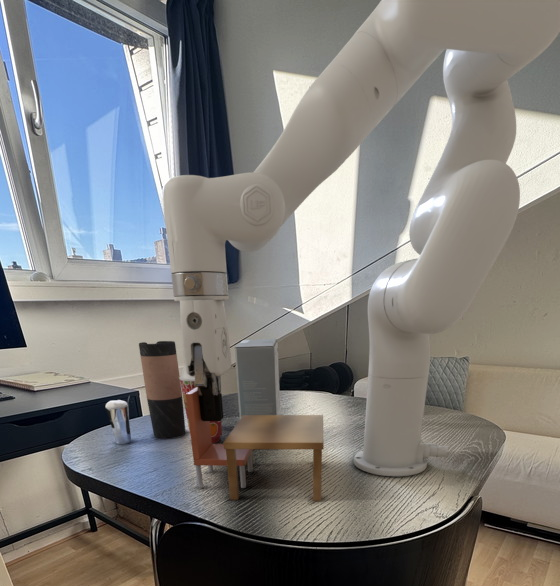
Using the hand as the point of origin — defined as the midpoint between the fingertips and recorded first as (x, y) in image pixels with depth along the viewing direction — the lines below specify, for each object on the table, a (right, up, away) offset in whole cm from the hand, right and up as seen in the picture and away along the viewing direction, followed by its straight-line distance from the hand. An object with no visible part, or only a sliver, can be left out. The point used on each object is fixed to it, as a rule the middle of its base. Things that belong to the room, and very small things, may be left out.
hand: (212, 419), depth 64 cm
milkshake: (-23, 0, +26) cm, 35 cm away
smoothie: (-5, 0, +25) cm, 26 cm away
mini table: (+11, -9, +3) cm, 15 cm away
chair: (+2, -9, +4) cm, 10 cm away
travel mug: (-15, +2, +30) cm, 34 cm away
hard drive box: (+7, +1, +26) cm, 27 cm away
